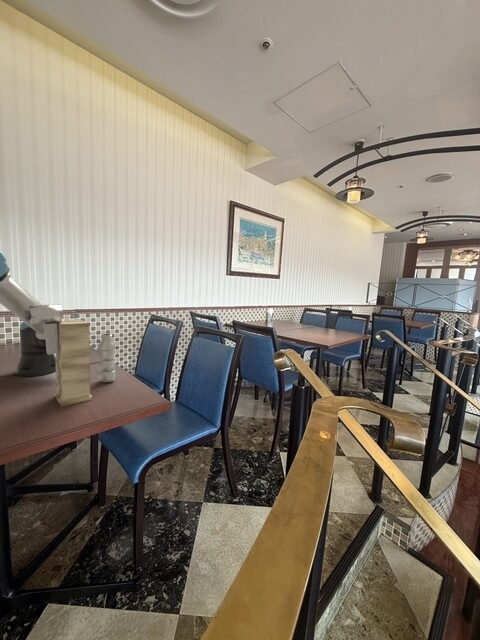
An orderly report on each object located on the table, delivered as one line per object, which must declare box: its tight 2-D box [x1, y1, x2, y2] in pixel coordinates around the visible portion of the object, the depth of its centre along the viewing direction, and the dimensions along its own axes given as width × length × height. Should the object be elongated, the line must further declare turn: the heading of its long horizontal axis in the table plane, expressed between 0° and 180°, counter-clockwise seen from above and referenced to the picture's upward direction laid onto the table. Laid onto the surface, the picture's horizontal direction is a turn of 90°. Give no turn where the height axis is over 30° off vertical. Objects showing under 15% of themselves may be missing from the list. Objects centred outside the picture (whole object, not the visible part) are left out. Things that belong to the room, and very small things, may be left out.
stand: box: [54, 319, 93, 407], centre depth 91 cm, size 11×9×27 cm
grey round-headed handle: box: [24, 303, 64, 355], centre depth 85 cm, size 6×16×9 cm
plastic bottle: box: [97, 333, 117, 383], centre depth 109 cm, size 6×7×20 cm
